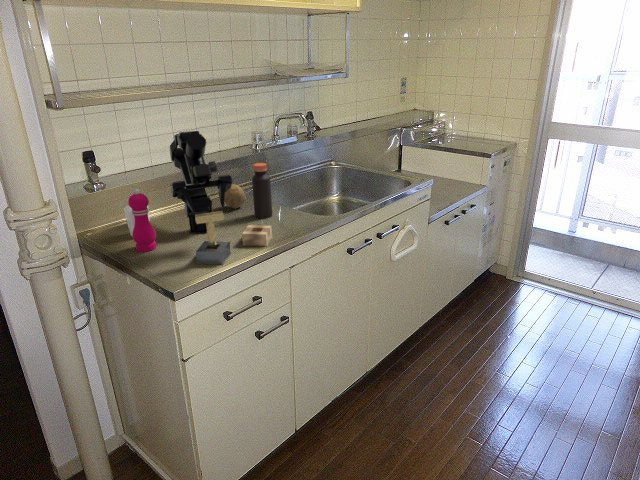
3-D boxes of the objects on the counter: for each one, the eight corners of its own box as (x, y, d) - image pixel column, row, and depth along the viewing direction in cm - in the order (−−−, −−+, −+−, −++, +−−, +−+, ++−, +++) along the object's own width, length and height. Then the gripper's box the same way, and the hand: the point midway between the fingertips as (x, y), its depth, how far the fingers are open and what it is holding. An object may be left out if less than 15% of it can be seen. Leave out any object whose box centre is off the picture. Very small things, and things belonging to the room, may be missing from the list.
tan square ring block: (242, 245, 154) (241, 233, 153) (249, 235, 162) (248, 225, 160) (266, 245, 153) (265, 234, 152) (272, 236, 161) (271, 225, 159)
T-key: (201, 262, 143) (196, 217, 137) (200, 259, 145) (194, 214, 139) (227, 257, 146) (223, 213, 140) (226, 254, 148) (221, 210, 142)
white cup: (129, 239, 161) (124, 212, 157) (128, 232, 168) (123, 205, 164) (153, 235, 164) (149, 208, 160) (151, 228, 170) (147, 202, 167)
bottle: (264, 211, 185) (261, 161, 178) (276, 215, 181) (273, 164, 173) (251, 215, 181) (247, 164, 173) (262, 219, 177) (258, 167, 169)
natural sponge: (218, 210, 188) (215, 185, 185) (232, 203, 196) (229, 180, 192) (236, 213, 184) (234, 188, 181) (250, 206, 192) (248, 182, 188)
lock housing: (197, 263, 142) (195, 251, 140) (206, 252, 149) (204, 241, 148) (222, 264, 141) (221, 252, 139) (230, 253, 148) (229, 241, 147)
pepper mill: (144, 254, 149) (134, 193, 141) (130, 249, 153) (118, 190, 145) (162, 246, 155) (153, 187, 147) (148, 242, 158) (138, 184, 151)
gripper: (167, 156, 140) (179, 203, 136) (228, 149, 148) (242, 193, 144) (166, 174, 150) (177, 218, 146) (223, 167, 157) (236, 209, 153)
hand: (208, 209), depth 147 cm, fingers open, 9 cm apart
